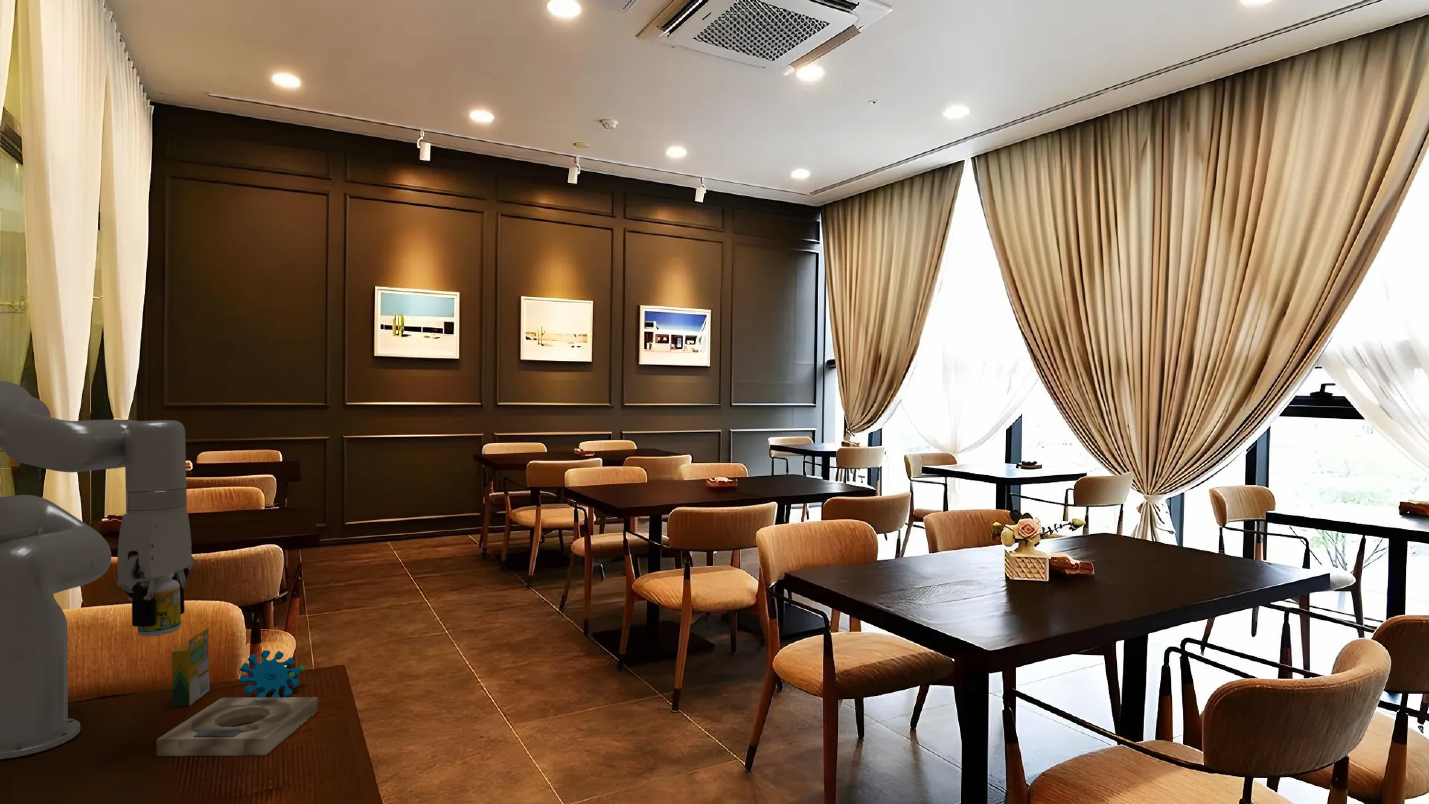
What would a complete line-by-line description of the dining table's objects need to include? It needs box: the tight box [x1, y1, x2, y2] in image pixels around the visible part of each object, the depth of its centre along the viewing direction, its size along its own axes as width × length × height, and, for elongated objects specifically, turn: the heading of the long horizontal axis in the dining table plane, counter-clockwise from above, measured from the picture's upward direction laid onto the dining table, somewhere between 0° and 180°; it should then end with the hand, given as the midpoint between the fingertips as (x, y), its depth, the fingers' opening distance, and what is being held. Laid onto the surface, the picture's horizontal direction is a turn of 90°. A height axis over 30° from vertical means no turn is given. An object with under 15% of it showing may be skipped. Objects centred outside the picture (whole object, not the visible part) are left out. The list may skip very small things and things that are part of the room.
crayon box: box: [171, 627, 210, 708], centre depth 137 cm, size 7×3×12 cm, turn 10°
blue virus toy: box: [238, 649, 306, 697], centre depth 140 cm, size 11×6×10 cm
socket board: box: [156, 696, 319, 757], centre depth 124 cm, size 16×16×3 cm
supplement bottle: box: [137, 572, 182, 637], centre depth 118 cm, size 5×5×10 cm
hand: (159, 618), depth 118 cm, fingers closed on supplement bottle, 5 cm apart
